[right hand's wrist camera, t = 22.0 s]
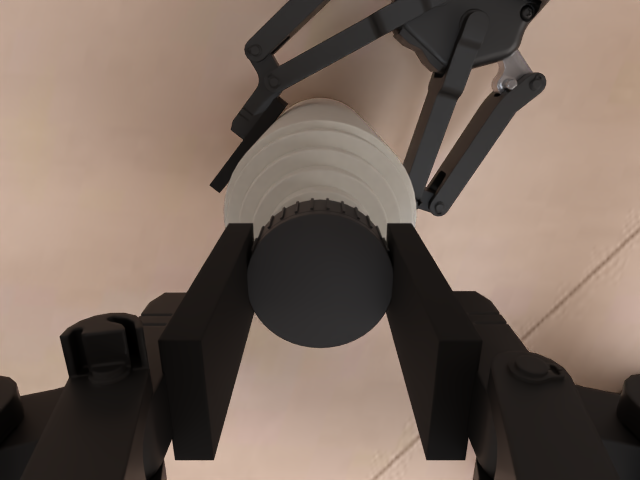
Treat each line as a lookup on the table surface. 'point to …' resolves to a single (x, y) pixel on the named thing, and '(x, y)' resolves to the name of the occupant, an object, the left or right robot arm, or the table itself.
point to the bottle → (320, 168)
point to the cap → (320, 274)
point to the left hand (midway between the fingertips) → (274, 224)
